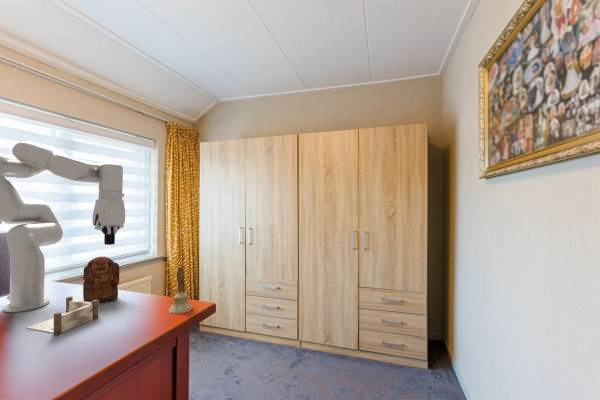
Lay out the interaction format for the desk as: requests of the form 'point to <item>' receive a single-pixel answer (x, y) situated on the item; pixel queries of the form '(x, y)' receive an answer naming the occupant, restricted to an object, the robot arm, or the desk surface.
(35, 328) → the card
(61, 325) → the fence panel
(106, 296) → the wooden figurine
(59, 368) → the desk surface
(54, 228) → the robot arm
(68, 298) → the fence fixed
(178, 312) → the hand bell
